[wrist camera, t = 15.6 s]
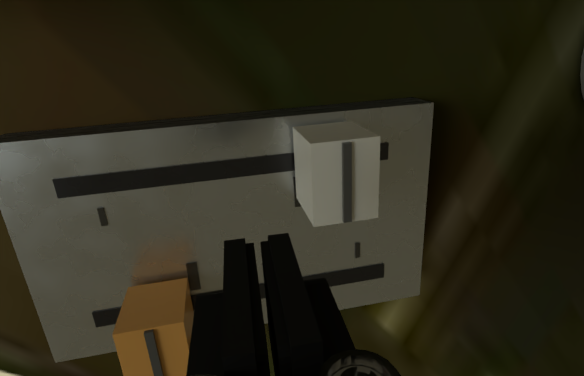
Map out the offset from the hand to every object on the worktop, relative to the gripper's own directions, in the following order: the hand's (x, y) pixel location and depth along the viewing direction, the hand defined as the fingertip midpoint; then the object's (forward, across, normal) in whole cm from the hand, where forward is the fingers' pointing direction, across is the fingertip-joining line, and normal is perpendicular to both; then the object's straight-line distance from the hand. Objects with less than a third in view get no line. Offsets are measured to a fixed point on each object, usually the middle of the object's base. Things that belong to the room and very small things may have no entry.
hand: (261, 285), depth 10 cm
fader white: (+11, -4, 0) cm, 12 cm away
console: (+14, +1, +4) cm, 14 cm away
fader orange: (+11, +5, +8) cm, 14 cm away
